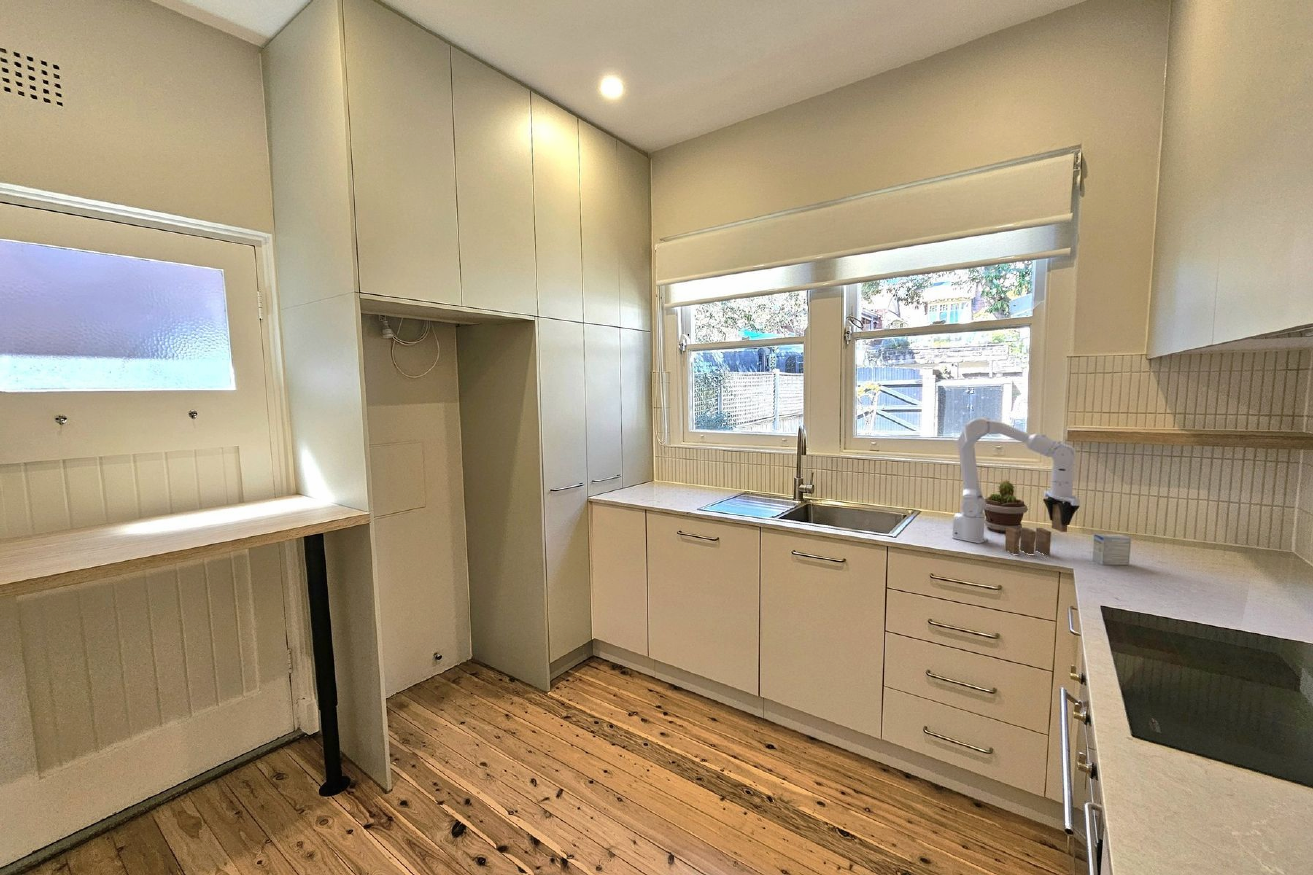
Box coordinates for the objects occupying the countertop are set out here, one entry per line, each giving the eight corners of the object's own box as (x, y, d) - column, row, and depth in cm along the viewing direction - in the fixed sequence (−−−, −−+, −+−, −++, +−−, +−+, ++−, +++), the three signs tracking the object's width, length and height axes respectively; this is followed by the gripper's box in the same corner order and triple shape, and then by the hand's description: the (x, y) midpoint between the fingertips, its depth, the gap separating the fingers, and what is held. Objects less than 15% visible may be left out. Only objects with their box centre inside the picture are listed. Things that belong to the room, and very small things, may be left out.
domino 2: (1028, 555, 174) (1030, 531, 173) (1019, 550, 179) (1021, 527, 178) (1034, 555, 174) (1035, 531, 173) (1024, 550, 179) (1026, 527, 178)
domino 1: (1013, 555, 174) (1014, 531, 174) (1004, 550, 179) (1006, 527, 179) (1018, 555, 174) (1019, 531, 174) (1009, 550, 179) (1011, 527, 179)
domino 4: (1061, 531, 173) (1063, 507, 172) (1051, 527, 178) (1053, 504, 177) (1066, 531, 172) (1068, 507, 172) (1056, 527, 177) (1058, 504, 177)
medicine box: (1118, 561, 168) (1120, 534, 167) (1129, 565, 163) (1131, 538, 163) (1091, 560, 169) (1093, 533, 168) (1101, 565, 164) (1103, 537, 163)
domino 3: (1044, 555, 174) (1045, 531, 173) (1034, 551, 179) (1036, 527, 178) (1049, 555, 174) (1051, 531, 173) (1040, 551, 178) (1041, 527, 178)
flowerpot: (1019, 538, 194) (1023, 483, 192) (973, 529, 205) (975, 478, 203) (1031, 530, 203) (1034, 478, 201) (986, 523, 215) (989, 474, 213)
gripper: (1091, 485, 166) (1088, 528, 167) (1060, 477, 180) (1057, 517, 182) (1067, 485, 166) (1064, 528, 168) (1038, 477, 181) (1035, 517, 182)
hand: (1059, 522), depth 175 cm, fingers closed on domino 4, 5 cm apart
